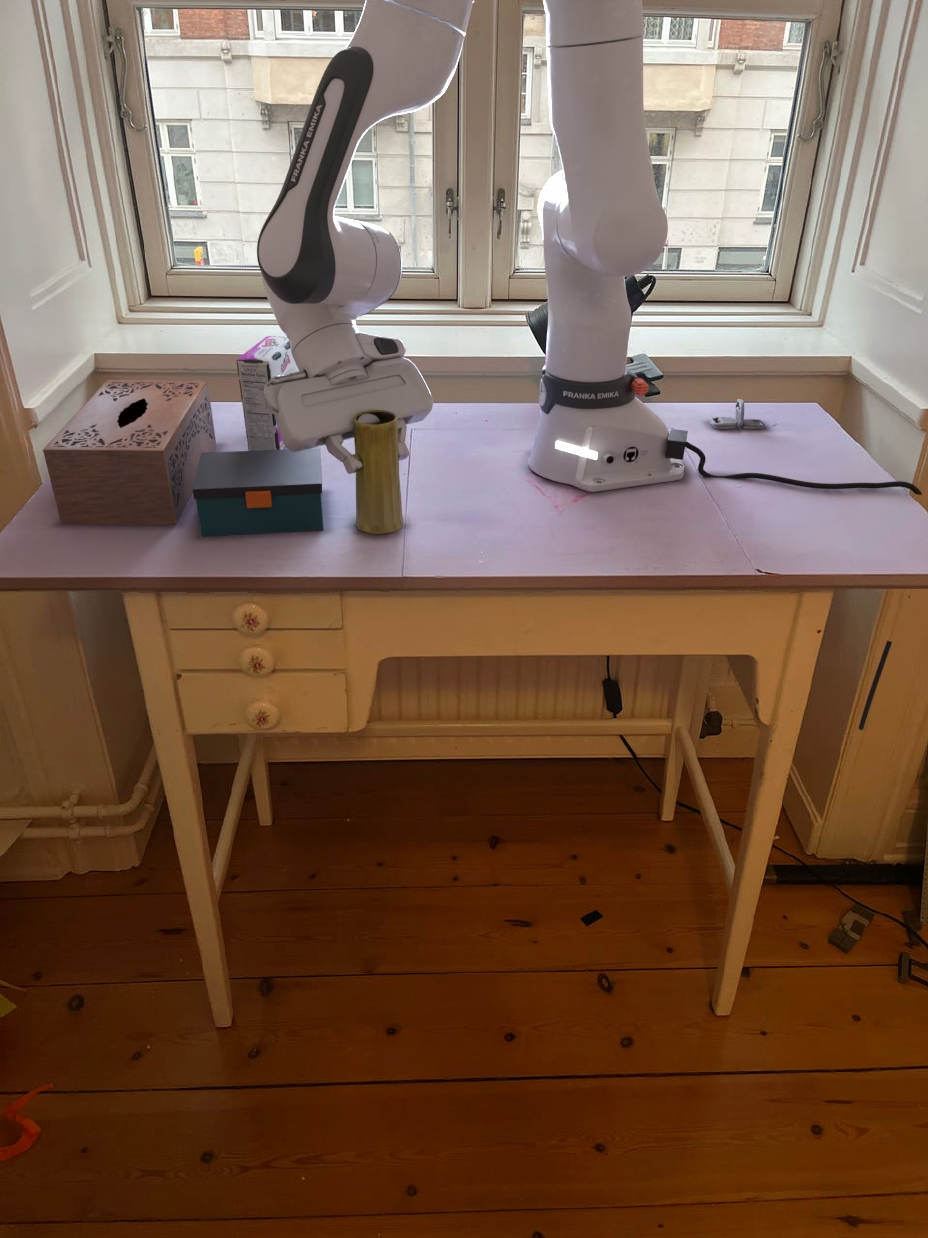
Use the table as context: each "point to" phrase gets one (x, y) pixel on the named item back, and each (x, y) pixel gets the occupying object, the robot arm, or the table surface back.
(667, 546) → the table surface
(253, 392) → the candy bar box
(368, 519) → the vase
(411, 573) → the table surface
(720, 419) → the grey t-shaped piece
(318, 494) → the lunchbox
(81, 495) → the tissue box cover
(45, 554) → the table surface
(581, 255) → the robot arm
